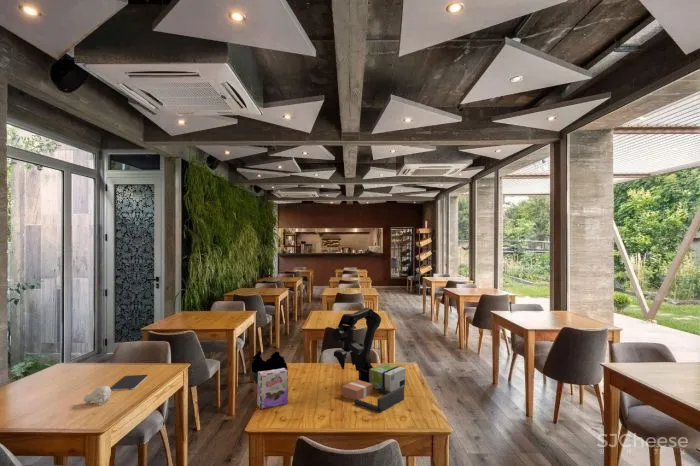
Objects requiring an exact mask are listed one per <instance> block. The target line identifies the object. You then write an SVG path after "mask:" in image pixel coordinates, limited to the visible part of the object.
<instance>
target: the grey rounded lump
mask: <svg viewBox="0 0 700 466" xmlns="http://www.w3.org/2000/svg"><path fill="white" fill-rule="evenodd" d="M110 388H111V387H110V386H108V385H101V386H99V387H97V388H95V389H94V390H92V392H90V393H89V394H86V395H85V396H84V397H83V401H84V402H85V404H86V405H87V406H88V404H91V403H92V402H94V403H96V404H98V406H99V407H100V406H103V405H104V404H105V403H107V402H108V401H109V400H110V396H111V393H112V391H111V390H110ZM100 400H102V401H100Z"/></svg>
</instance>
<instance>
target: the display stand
mask: <svg viewBox="0 0 700 466" xmlns="http://www.w3.org/2000/svg"><path fill="white" fill-rule="evenodd" d="M377 393H378V394H381V395H383V396H380V397H378V398H377V399H376V401H377V403H376V404H377V405H375V404H373V403H369V402H367V401H365V400H362V399H360V400H358V399H355V400H353V402H354V405H356V406H359V407H361V408H365V409H368V410H370V411H374V412H376V413H378V414H381V413H383V412H384V411H385V410H388V409H389V408H391V407H393V406H395V405H396V404H398V403H400V402H402V401H403V400H405V386H403V387H400V388H398V389H396V390H394V391H392V392H391V391H388V390H384V389H381V388H378V389H377Z"/></svg>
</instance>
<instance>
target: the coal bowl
mask: <svg viewBox="0 0 700 466" xmlns="http://www.w3.org/2000/svg"><path fill="white" fill-rule="evenodd" d="M261 354H262V352H261V351H260V350H259V351H258V352H257V353H256V354H255V355H254V356H253V357H252V359H253V360H252V364H251V369H250V374H251V379H252V380H253V382H255V383H254V384H256V385H257V386H258V372H261V371H268V370H275V369H281V368H285V369H286V370H287V371H289V367H288V365H287V363H286V361H285V358H284V357H283V356H282V355H281V353H280V351H275V352H274V353H272V354H271V355H270V358H268V359H266V360H264V359H263V358H262V357H261Z"/></svg>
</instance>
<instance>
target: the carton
mask: <svg viewBox="0 0 700 466" xmlns="http://www.w3.org/2000/svg"><path fill="white" fill-rule="evenodd" d="M373 389H374V388H373V384H371V383H367V382H364V381H360V380H359V379H356V380H354V381H351V382H348V383H346V384H344V385H342V386H341V396H342V397H345V398H347V399H350V400H353V401H354V400H355V399H358V400H362V399H364V398H366V397H367V396H368V397H369V396H370V395H372V394H373Z"/></svg>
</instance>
